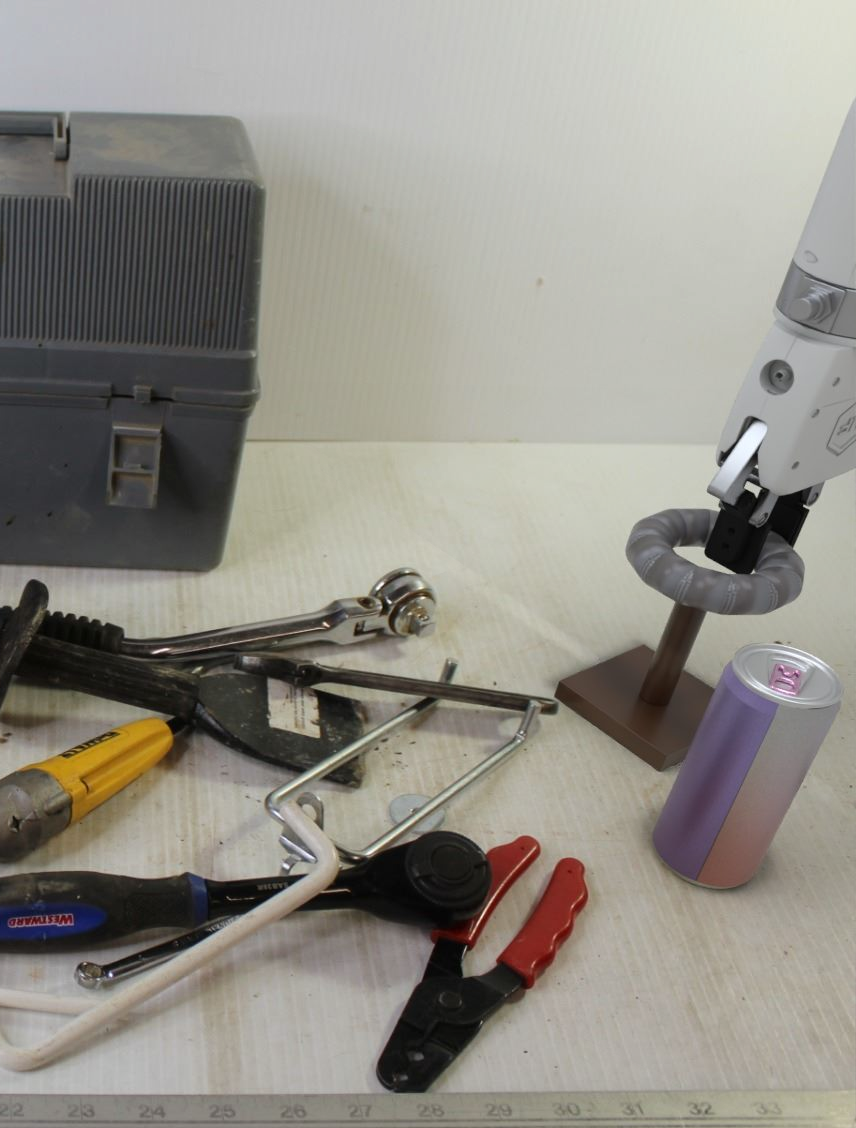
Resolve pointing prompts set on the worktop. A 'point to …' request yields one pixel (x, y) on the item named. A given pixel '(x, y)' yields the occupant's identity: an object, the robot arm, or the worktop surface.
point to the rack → (646, 693)
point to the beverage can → (746, 763)
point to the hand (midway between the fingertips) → (746, 555)
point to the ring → (705, 587)
